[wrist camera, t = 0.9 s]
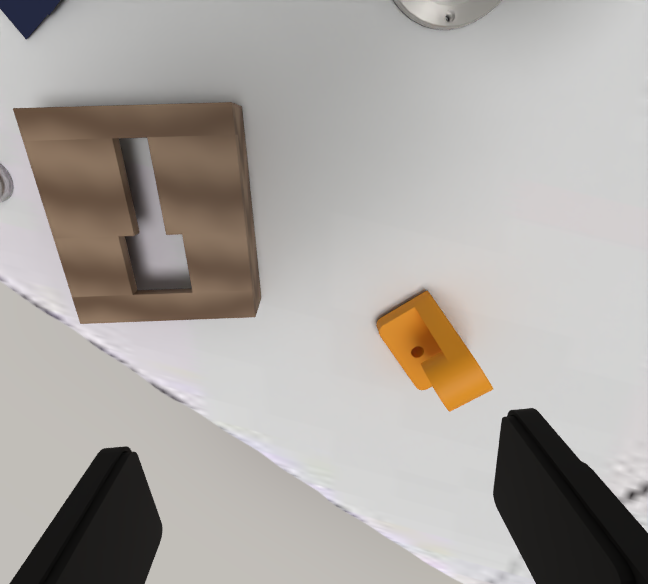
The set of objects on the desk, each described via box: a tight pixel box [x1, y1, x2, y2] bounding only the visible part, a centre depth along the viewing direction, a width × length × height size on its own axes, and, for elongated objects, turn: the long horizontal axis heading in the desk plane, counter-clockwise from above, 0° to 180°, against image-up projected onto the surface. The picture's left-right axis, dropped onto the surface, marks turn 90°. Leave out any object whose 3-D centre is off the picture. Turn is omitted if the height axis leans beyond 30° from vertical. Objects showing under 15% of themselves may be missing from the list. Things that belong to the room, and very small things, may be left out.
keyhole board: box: [13, 102, 261, 324], centre depth 37 cm, size 20×18×5 cm
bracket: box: [377, 291, 493, 412], centre depth 41 cm, size 11×7×12 cm, turn 34°
